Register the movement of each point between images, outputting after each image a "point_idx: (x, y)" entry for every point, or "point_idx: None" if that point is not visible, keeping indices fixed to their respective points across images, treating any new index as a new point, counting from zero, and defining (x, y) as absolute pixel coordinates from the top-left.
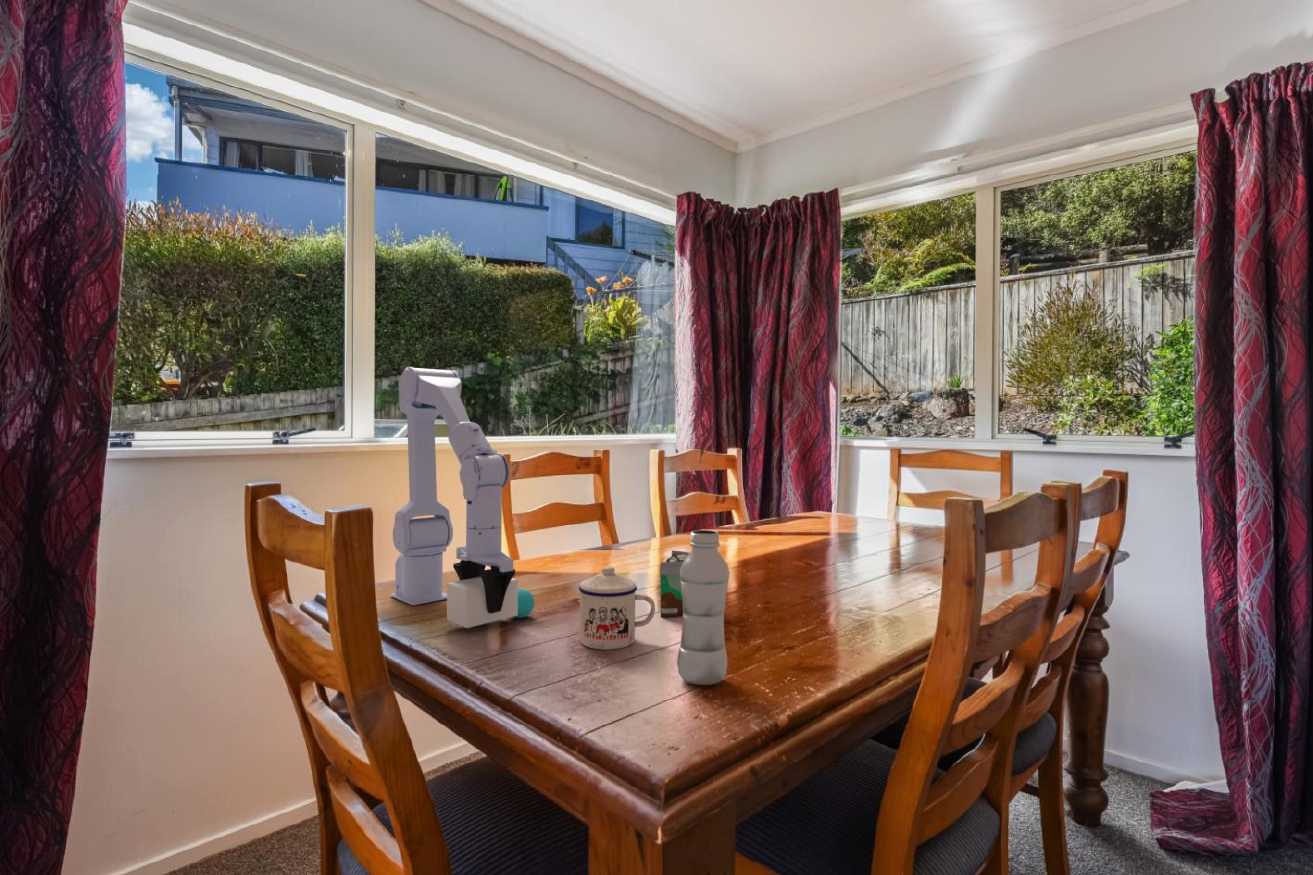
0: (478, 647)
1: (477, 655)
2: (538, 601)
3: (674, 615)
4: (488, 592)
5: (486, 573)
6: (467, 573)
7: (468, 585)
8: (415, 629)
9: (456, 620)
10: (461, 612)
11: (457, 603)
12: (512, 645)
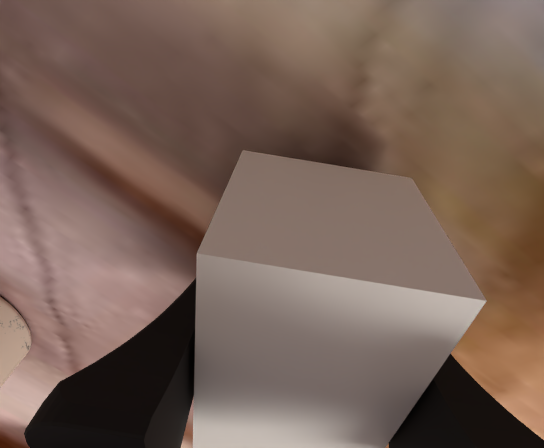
0: (105, 82)
1: (13, 9)
2: None
3: None
4: (160, 319)
5: (42, 420)
6: (435, 436)
7: (290, 324)
8: (533, 65)
9: (330, 170)
10: (281, 183)
11: (322, 209)
12: (58, 171)
